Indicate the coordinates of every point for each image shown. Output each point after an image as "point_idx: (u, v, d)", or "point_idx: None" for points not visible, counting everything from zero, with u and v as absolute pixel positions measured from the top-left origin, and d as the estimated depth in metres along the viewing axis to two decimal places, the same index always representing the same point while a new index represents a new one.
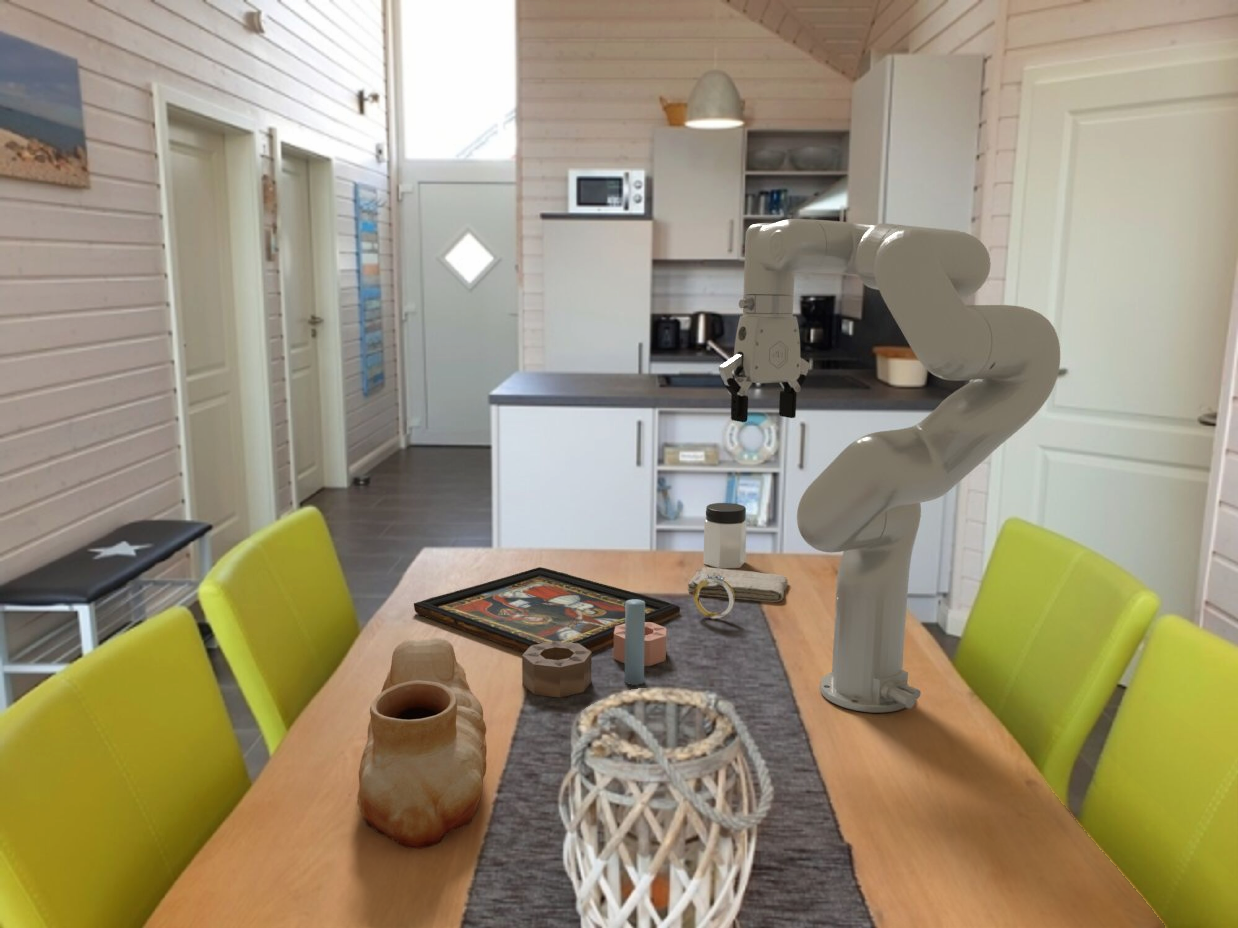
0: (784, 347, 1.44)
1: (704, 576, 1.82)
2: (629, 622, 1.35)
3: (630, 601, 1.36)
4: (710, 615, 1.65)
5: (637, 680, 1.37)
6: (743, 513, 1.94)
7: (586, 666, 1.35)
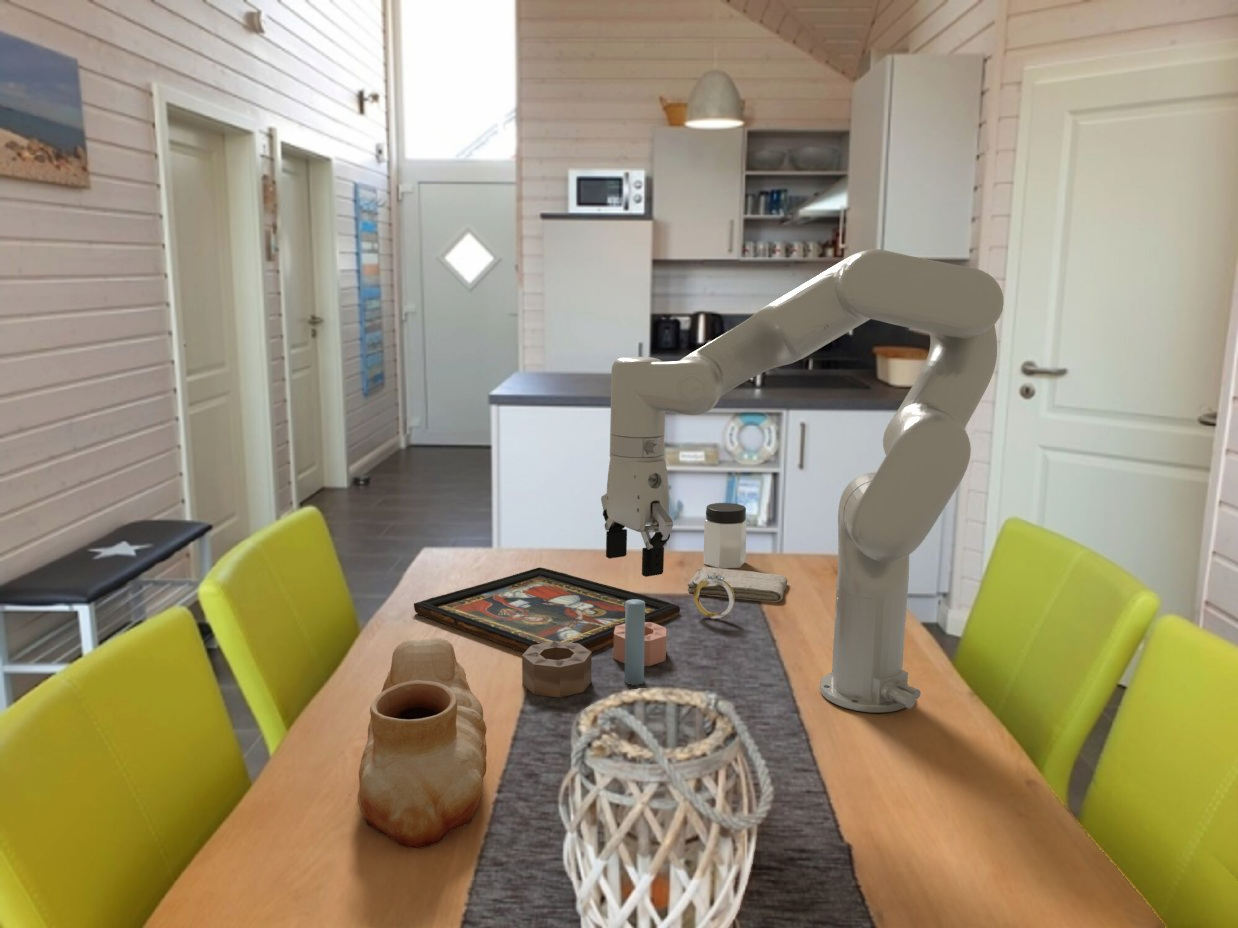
0: None
1: (704, 576, 1.82)
2: (629, 622, 1.35)
3: (630, 601, 1.36)
4: (710, 615, 1.65)
5: (637, 680, 1.37)
6: (743, 513, 1.94)
7: (586, 666, 1.35)
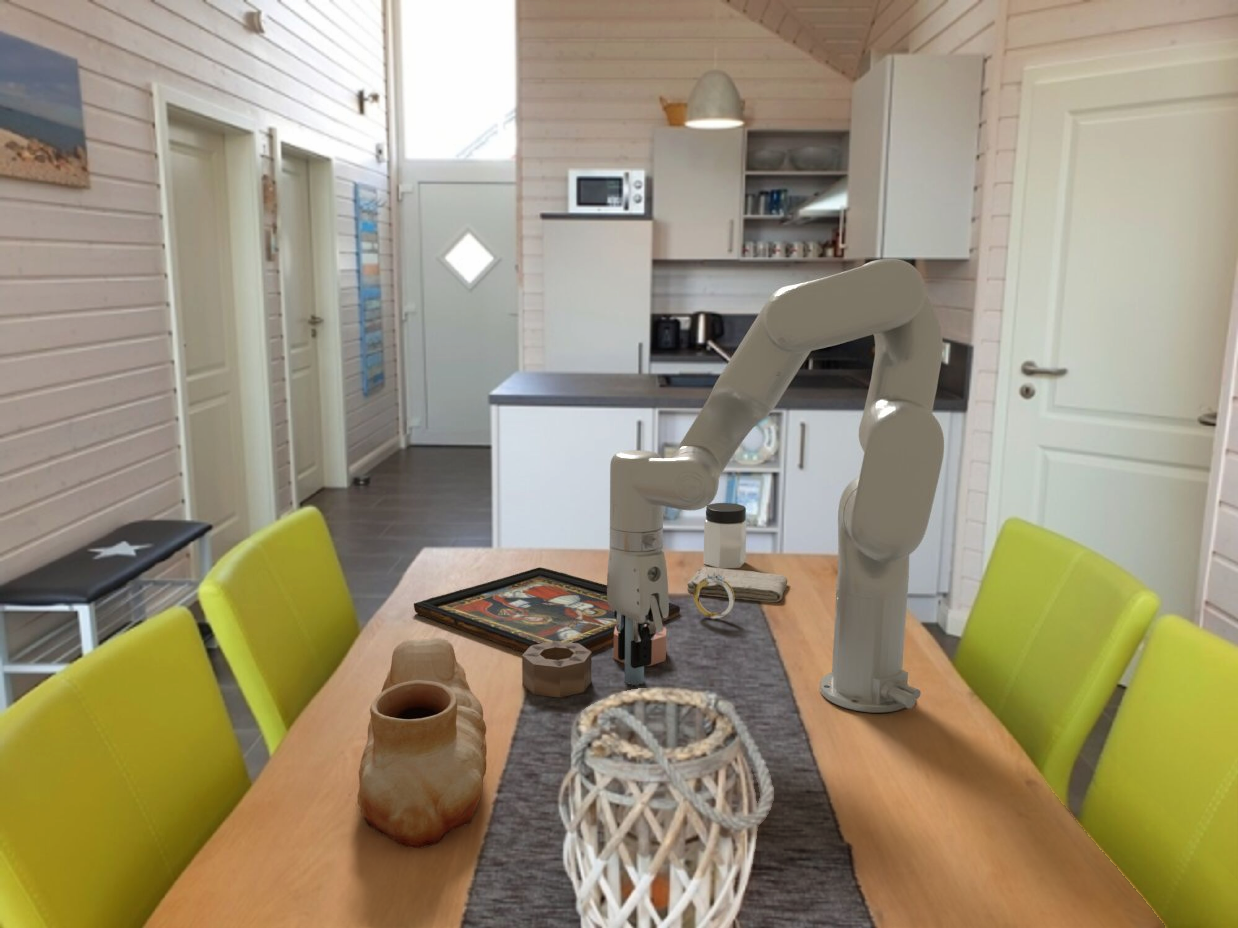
0: None
1: (704, 576, 1.82)
2: (629, 622, 1.35)
3: None
4: (710, 615, 1.65)
5: (637, 680, 1.37)
6: (743, 513, 1.94)
7: (586, 666, 1.35)
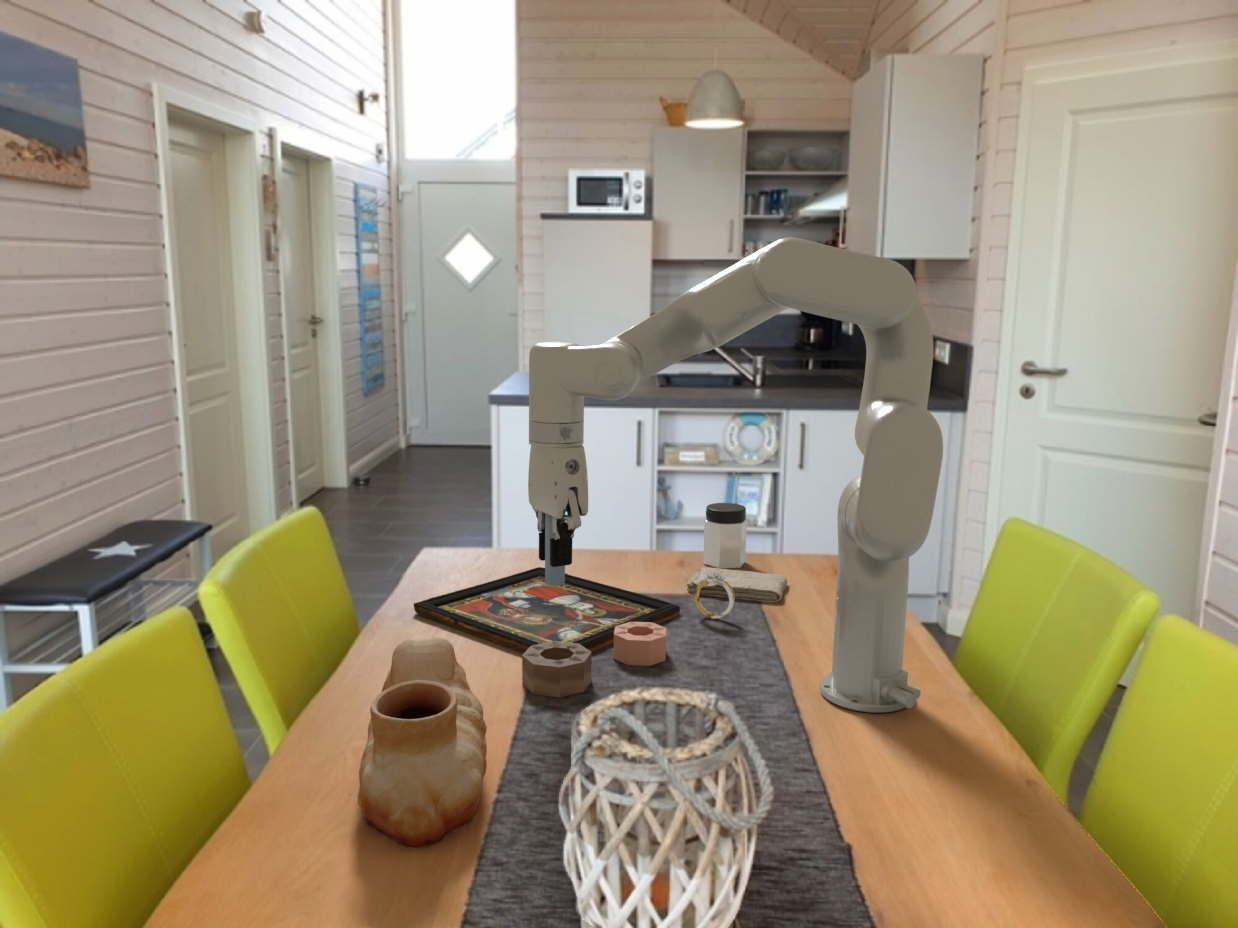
0: None
1: (703, 576, 1.82)
2: (548, 519, 1.32)
3: None
4: (710, 615, 1.65)
5: (557, 580, 1.33)
6: (743, 513, 1.94)
7: (586, 666, 1.35)
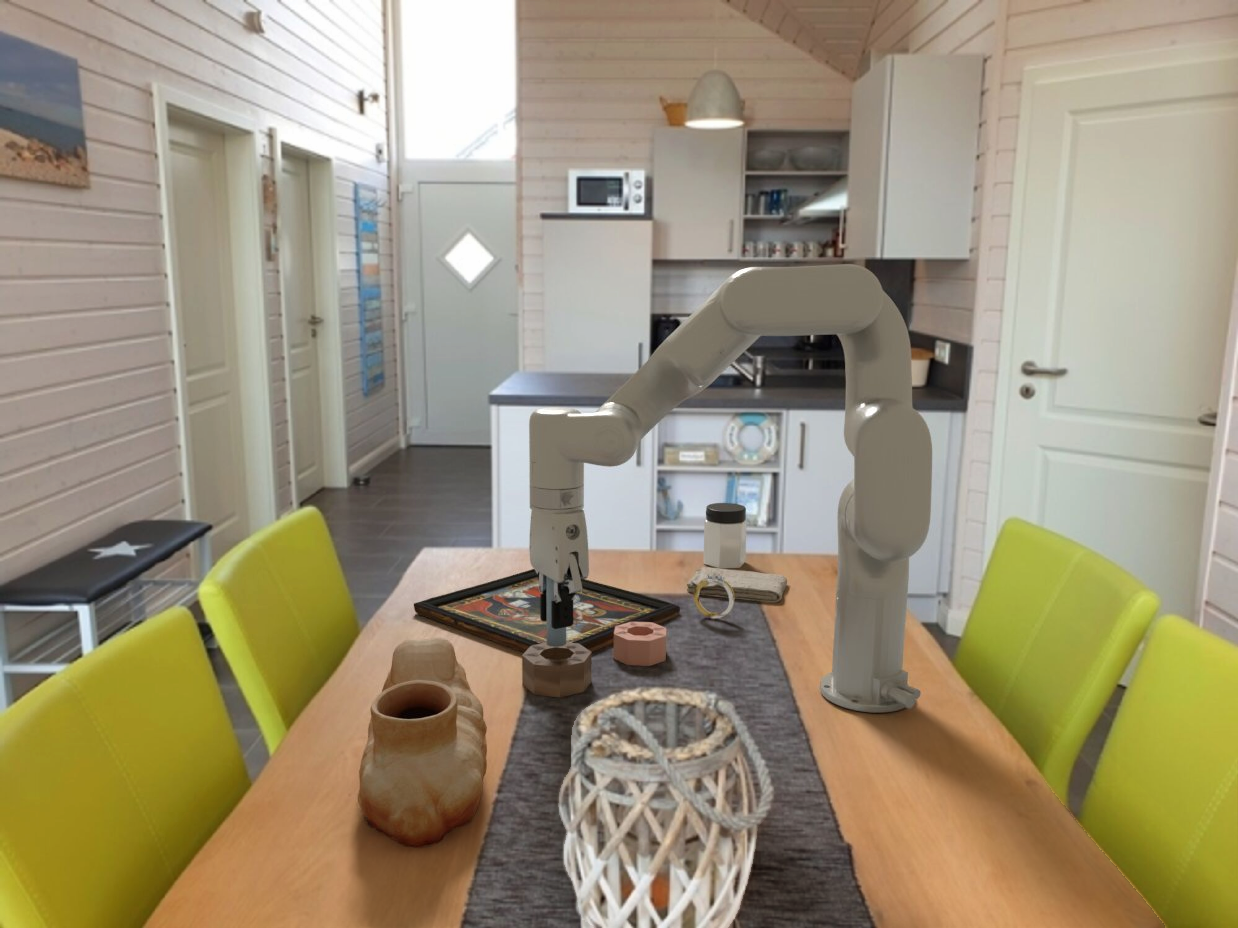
0: None
1: (703, 576, 1.82)
2: (549, 582, 1.33)
3: None
4: (710, 615, 1.65)
5: (558, 641, 1.35)
6: (743, 513, 1.94)
7: (586, 666, 1.35)
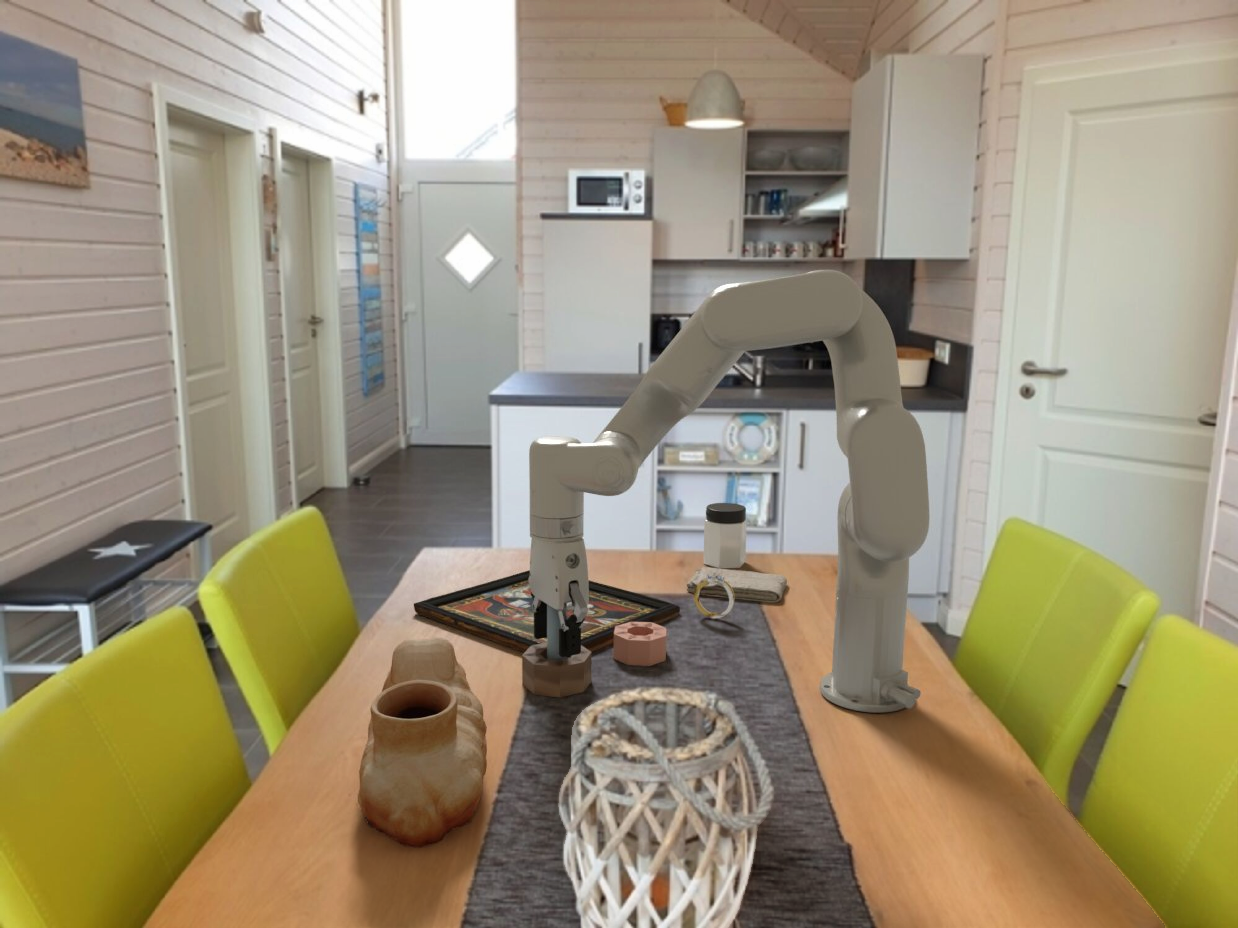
0: None
1: (703, 576, 1.82)
2: (550, 623, 1.35)
3: None
4: (710, 615, 1.65)
5: None
6: (743, 513, 1.94)
7: (586, 666, 1.35)
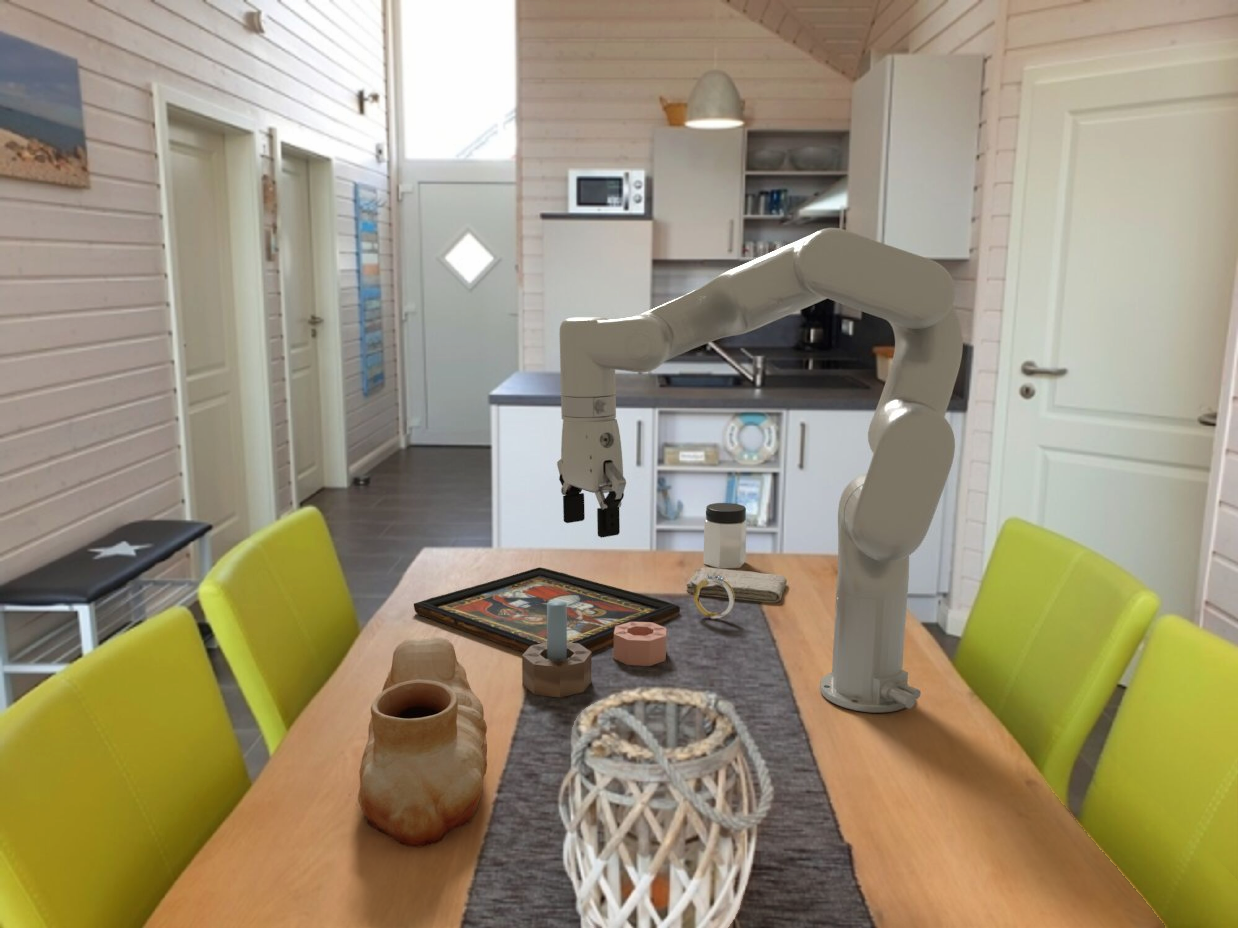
0: None
1: (703, 576, 1.82)
2: (550, 623, 1.35)
3: (552, 602, 1.36)
4: (710, 615, 1.65)
5: None
6: (743, 513, 1.94)
7: (586, 666, 1.35)
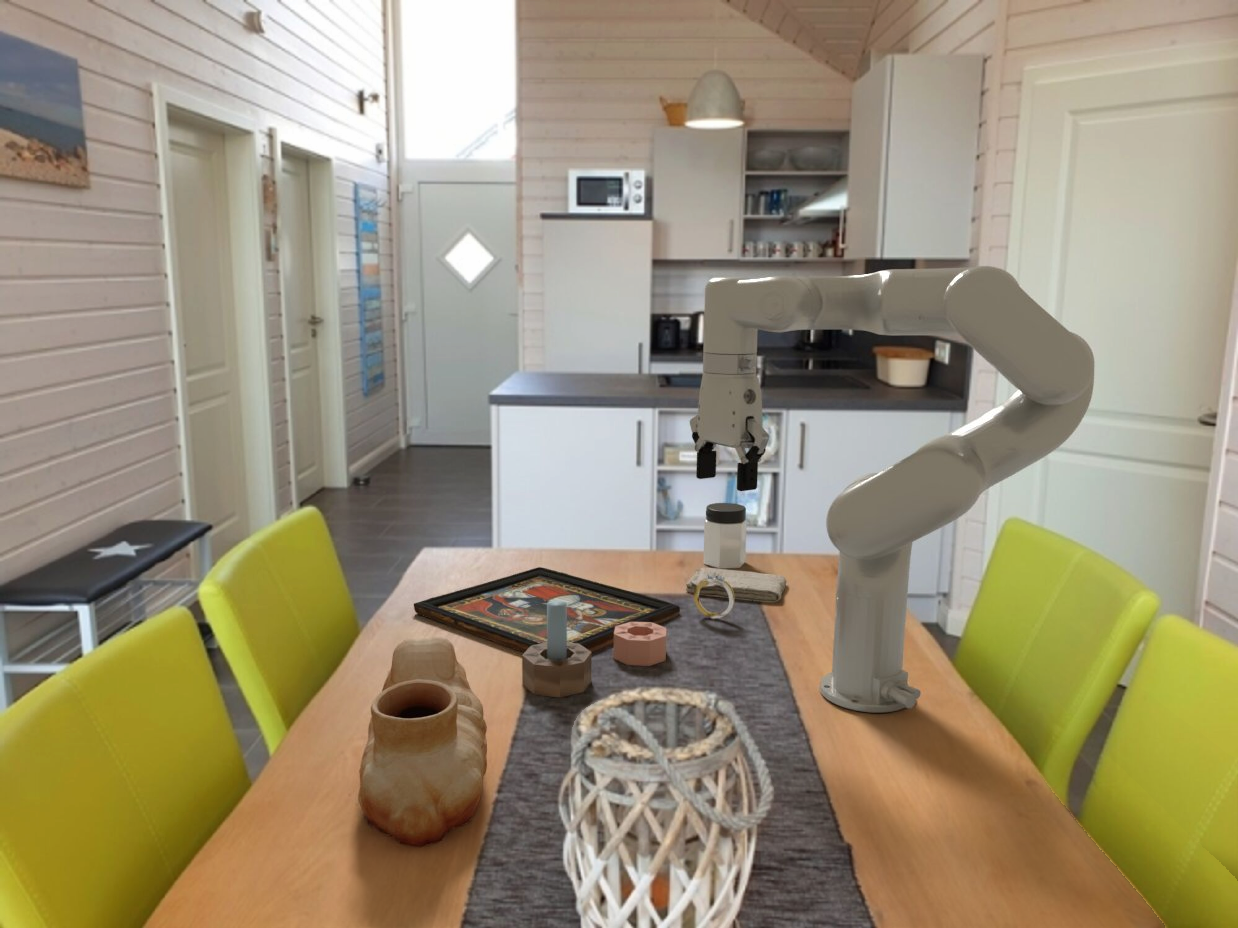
0: None
1: (702, 576, 1.82)
2: (550, 623, 1.35)
3: (552, 602, 1.36)
4: (710, 615, 1.65)
5: None
6: (743, 513, 1.94)
7: (586, 666, 1.35)
